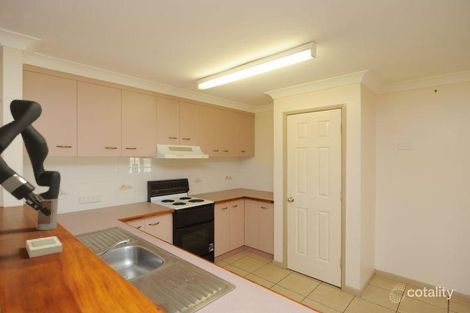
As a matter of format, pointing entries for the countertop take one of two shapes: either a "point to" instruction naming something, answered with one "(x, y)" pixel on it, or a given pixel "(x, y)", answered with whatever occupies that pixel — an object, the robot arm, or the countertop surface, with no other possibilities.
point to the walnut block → (42, 217)
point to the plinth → (43, 246)
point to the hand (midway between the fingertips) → (50, 213)
